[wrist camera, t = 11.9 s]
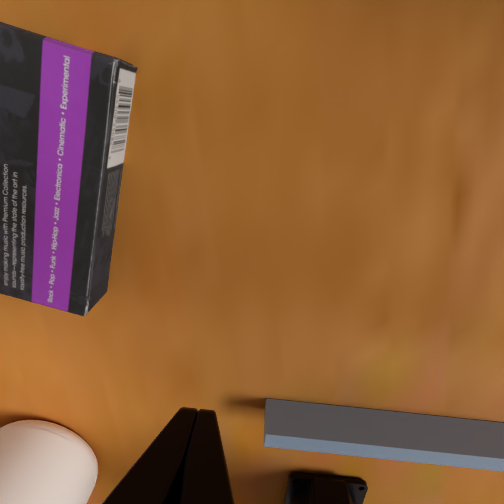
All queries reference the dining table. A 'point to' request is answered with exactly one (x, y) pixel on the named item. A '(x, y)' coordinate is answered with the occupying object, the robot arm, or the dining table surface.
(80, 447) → the wine bottle
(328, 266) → the dining table surface
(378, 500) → the dining table surface
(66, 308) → the box
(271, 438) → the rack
